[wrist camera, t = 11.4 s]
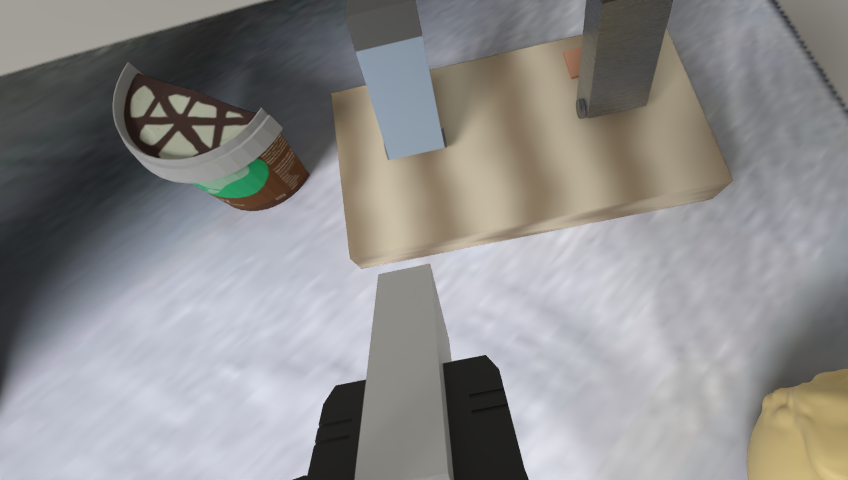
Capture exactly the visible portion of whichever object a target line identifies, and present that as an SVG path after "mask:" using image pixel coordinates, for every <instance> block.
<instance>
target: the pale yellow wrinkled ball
mask: <svg viewBox="0 0 848 480" xmlns="http://www.w3.org/2000/svg"><path fill="white" fill-rule="evenodd" d="M747 474H748V480H848V368H846V369H840V370H837V371H828V372H822V373H819V374H817V375H816V376H815V377H814V378H813V380H812V381H810V382H805V383H802V384H800V385H798V386H794V387H789V388H779V389H777V390H775V391H774V392H773V393H770V394H768V395H766V396H765V397H764V399H763V403H762V412H761V415H760V416H759V418H758V420H757V422H756V424H755V426H754V429H753V431H752V434H751V437H750V441H749V446H748V453H747Z"/></svg>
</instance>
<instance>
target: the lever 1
mask: <svg viewBox="0 0 848 480" xmlns="http://www.w3.org/2000/svg"><path fill="white" fill-rule="evenodd" d="M345 19H346V23H347V26H348V29H349V32H350V35H351V39H352V42H353V45H354V48H355V51H356V54H357V58H358V61H359V64H360V67H361V70H362V74H363V77H364V80H365V83H366V86H367V90H368V93H369V96H370V99H371V102H372V105H373V109H374V112H375V115H376V118H377V121H378V125H379V128H380V131H381V134H382V137H383V141H384V148H385V152H386V156H387V159H388V160H392V159H397V158H401V157H406V156H410V155H415V154H419V153H424V152H429V151H433V150H438V149H442V148H447V143H446V138H445V133H444V128H441V127H440V122H439V117H438V112H437V107H436V102H435V97H434V92H433V87H432V82H431V77H430V71H429V66H428V61H427V56H426V51H425V46H424V41H423V36H422V31H421V26H420V21H419V16H418V11H417V6H416V1H415V0H350V1H346V8H345Z"/></svg>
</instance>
